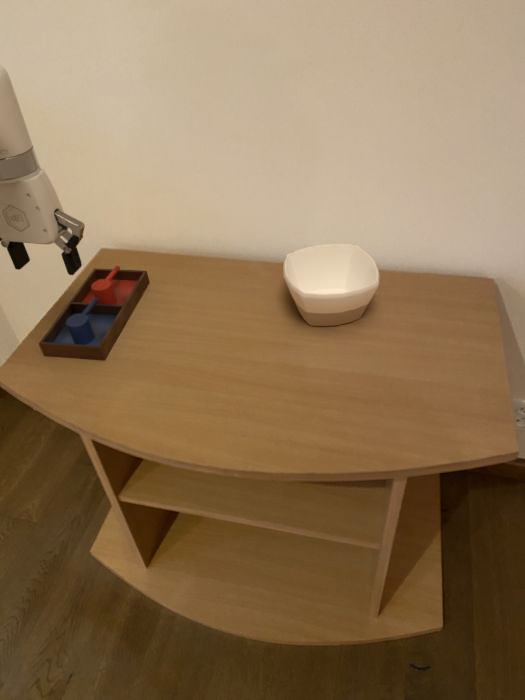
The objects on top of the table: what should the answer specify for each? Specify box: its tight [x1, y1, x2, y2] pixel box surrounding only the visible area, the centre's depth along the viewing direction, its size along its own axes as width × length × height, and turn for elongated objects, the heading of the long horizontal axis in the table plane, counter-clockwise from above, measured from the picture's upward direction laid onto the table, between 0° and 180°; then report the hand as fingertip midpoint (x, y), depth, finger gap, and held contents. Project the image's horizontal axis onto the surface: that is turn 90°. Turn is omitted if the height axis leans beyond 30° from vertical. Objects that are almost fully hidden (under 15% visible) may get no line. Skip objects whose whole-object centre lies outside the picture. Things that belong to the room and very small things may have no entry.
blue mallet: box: [66, 298, 99, 345], centre depth 98 cm, size 10×4×4 cm, turn 165°
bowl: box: [282, 243, 381, 327], centre depth 98 cm, size 18×18×9 cm
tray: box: [38, 267, 151, 361], centre depth 102 cm, size 25×12×3 cm, turn 170°
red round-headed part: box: [91, 265, 121, 304], centre depth 106 cm, size 10×4×4 cm, turn 165°
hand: (49, 267), depth 83 cm, fingers open, 9 cm apart
